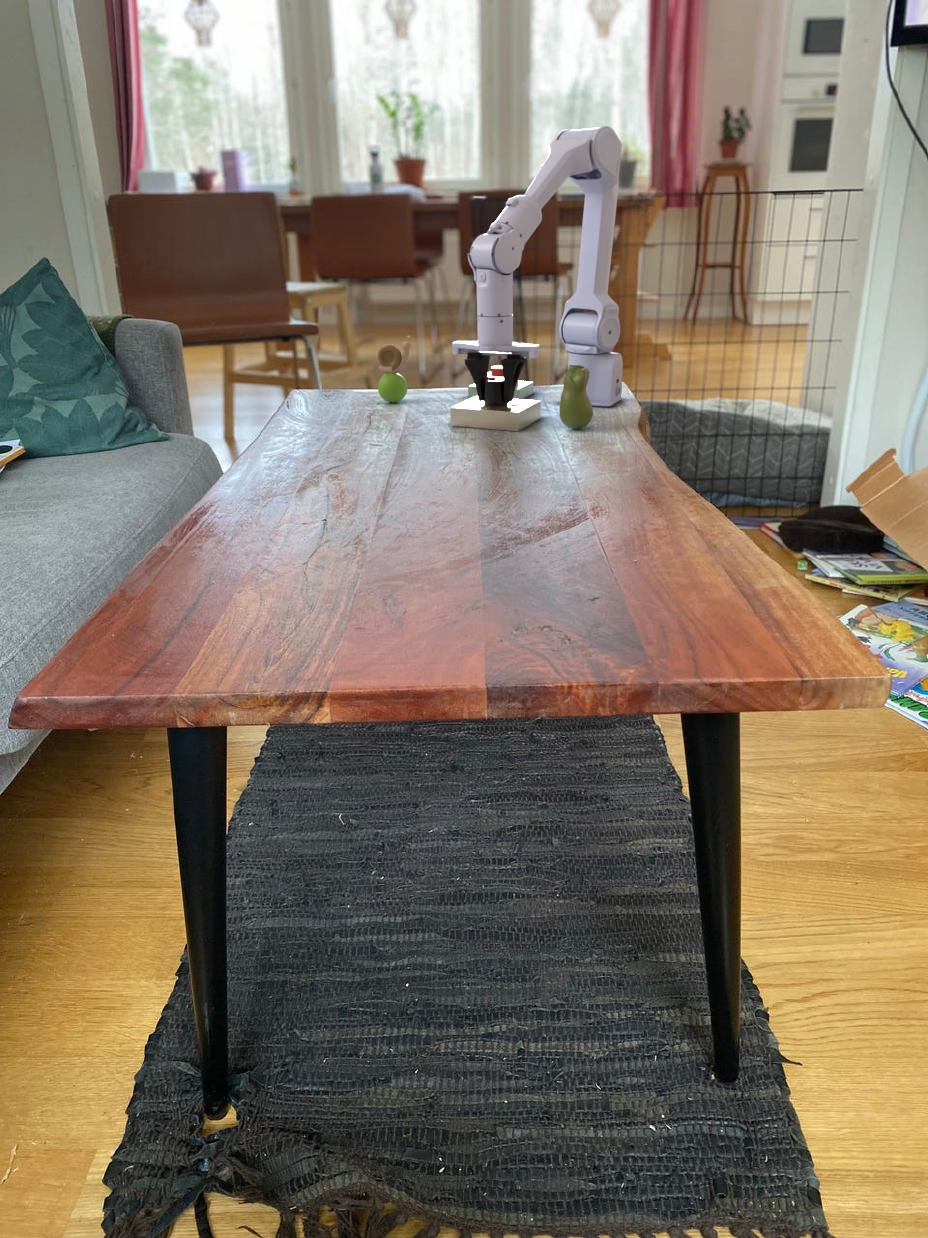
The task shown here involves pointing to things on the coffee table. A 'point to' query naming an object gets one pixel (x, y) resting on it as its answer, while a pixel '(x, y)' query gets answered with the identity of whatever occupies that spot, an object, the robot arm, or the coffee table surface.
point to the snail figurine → (393, 372)
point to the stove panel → (495, 414)
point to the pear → (575, 398)
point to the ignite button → (497, 370)
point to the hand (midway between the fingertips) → (495, 400)
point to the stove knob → (494, 391)
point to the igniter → (520, 392)
